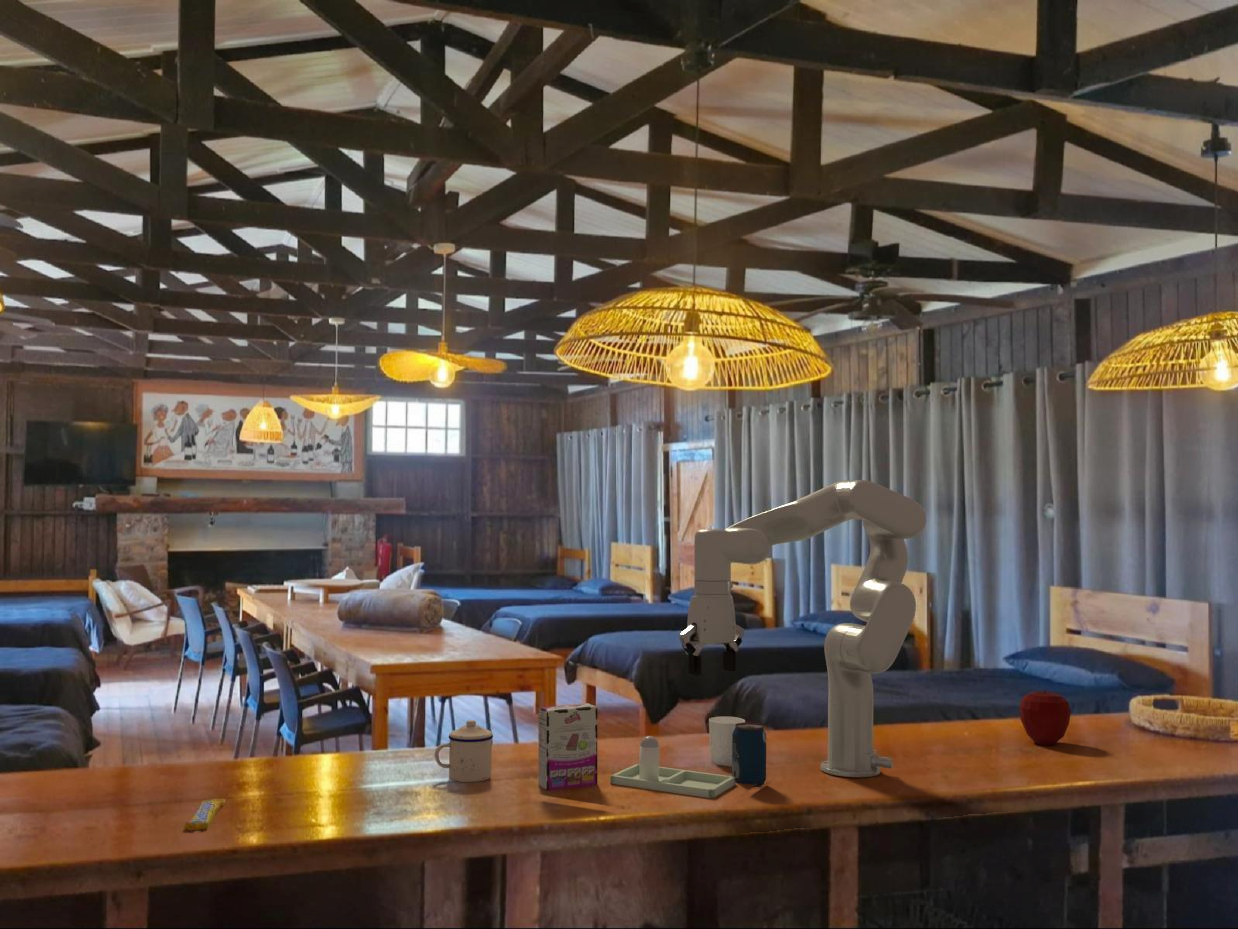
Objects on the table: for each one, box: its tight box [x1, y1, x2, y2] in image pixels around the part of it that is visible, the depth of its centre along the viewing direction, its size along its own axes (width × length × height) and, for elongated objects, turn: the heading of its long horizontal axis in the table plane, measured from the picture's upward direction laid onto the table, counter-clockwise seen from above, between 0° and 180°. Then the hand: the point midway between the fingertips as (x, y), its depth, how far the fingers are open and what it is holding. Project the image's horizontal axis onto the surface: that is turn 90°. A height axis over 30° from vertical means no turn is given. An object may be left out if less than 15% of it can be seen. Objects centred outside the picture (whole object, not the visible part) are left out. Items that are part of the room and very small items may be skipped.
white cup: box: [708, 715, 746, 768], centre depth 235 cm, size 8×8×10 cm
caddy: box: [609, 763, 736, 799], centre depth 214 cm, size 22×12×2 cm, turn 63°
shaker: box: [638, 735, 660, 781], centre depth 217 cm, size 4×4×9 cm
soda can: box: [731, 722, 767, 788], centre depth 219 cm, size 7×7×12 cm
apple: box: [1019, 688, 1072, 746], centre depth 263 cm, size 12×12×13 cm
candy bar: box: [183, 798, 226, 832], centre depth 190 cm, size 17×4×2 cm, turn 10°
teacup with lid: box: [434, 719, 494, 783], centre depth 221 cm, size 12×9×12 cm
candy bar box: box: [538, 702, 598, 791], centre depth 213 cm, size 11×5×16 cm, turn 118°
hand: (712, 672), depth 221 cm, fingers open, 9 cm apart
